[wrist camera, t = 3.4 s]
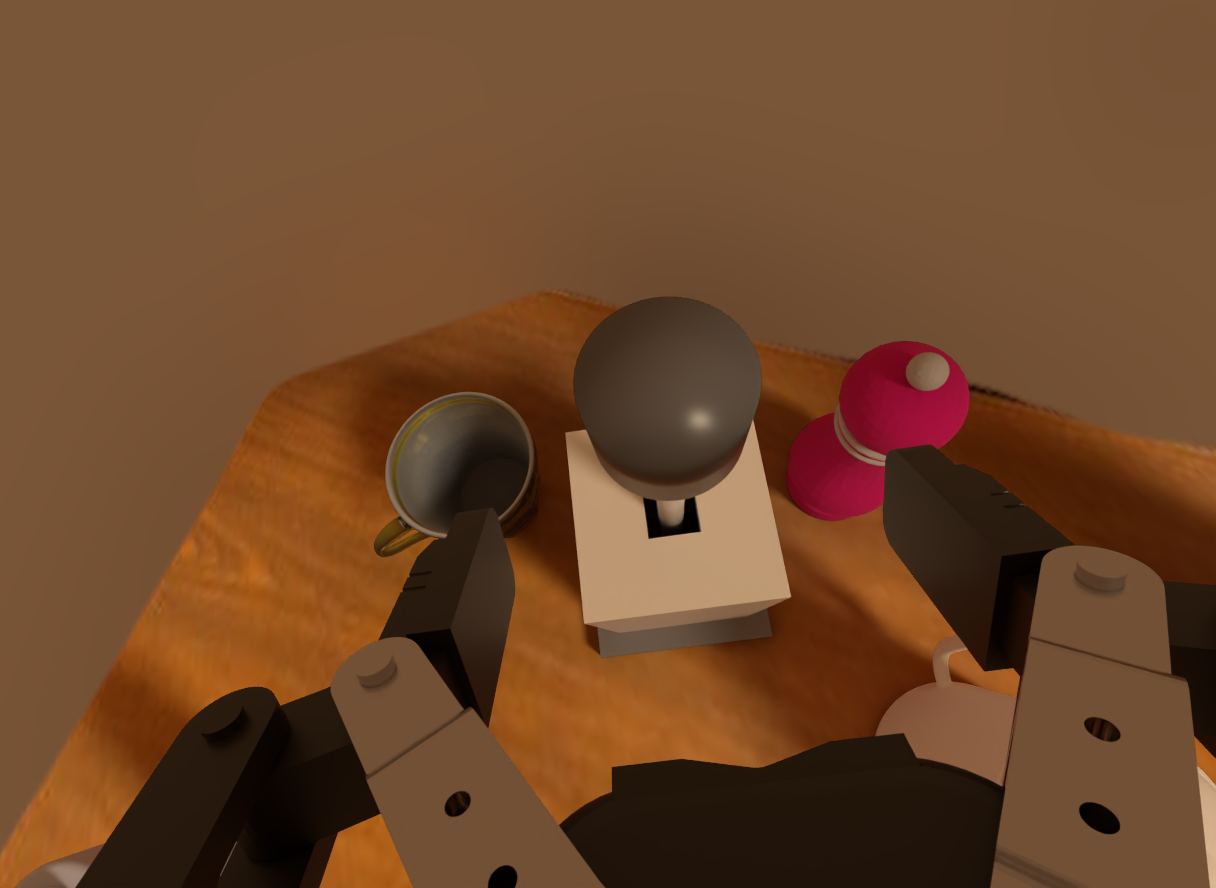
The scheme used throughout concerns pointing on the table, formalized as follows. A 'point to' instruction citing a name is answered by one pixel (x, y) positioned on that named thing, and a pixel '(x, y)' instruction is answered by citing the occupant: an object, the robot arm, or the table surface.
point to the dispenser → (675, 558)
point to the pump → (668, 399)
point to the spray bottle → (63, 871)
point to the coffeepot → (984, 732)
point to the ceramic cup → (459, 469)
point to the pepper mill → (875, 427)
